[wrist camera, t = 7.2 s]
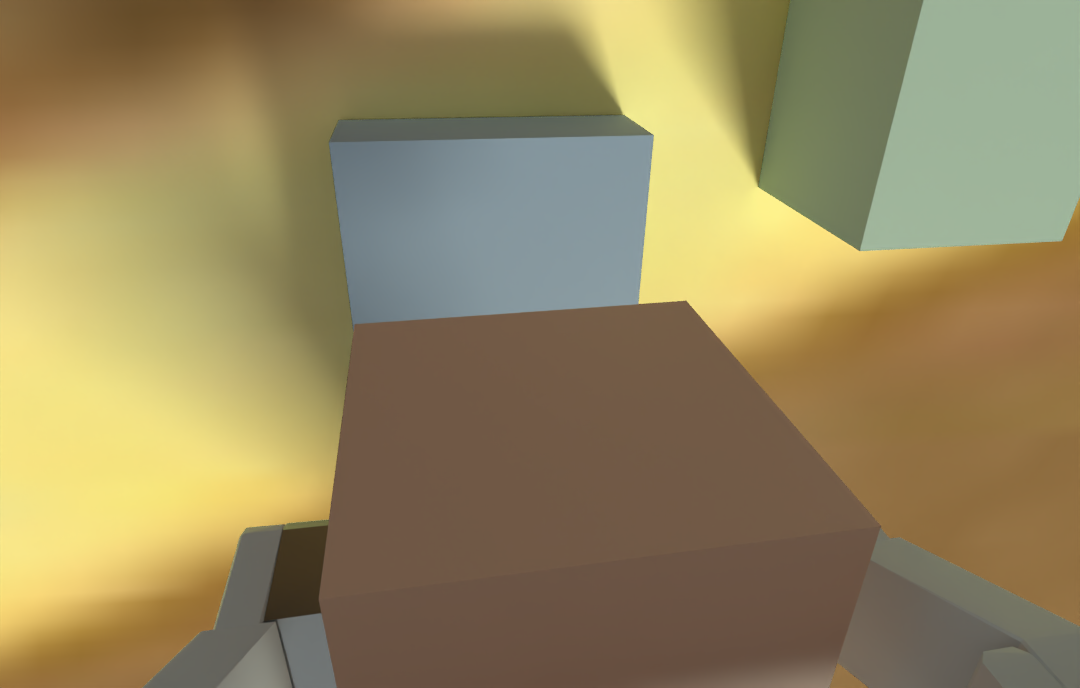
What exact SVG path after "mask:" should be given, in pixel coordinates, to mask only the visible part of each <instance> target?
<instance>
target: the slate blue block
mask: <svg viewBox="0 0 1080 688" xmlns="http://www.w3.org/2000/svg"><path fill="white" fill-rule="evenodd" d="M653 137H654V135H653V134H651V133H650V132H648V131H647V130H645V129H644V128H642V127H641V126H639V125H638V124H637V123H635V122H634V121H632V120H631V119H629V118H628V117H626V116H625V115H597V116H540V117H482V118H425V119H367V120H338V123H337V125H336V127H335V130H334V132H333V134H332V136H331V139H330V141H329V147H330V155H331V163H332V170H333V178H334V186H335V193H336V201H337V209H338V216H339V224H340V232H341V239H342V247H343V255H344V262H345V270H346V278H347V286H348V293H349V301H350V309H351V316H352V324H353V332H354V325H355V324H364V323H378V322H392V321H406V320H421V319H435V318H449V317H463V316H478V315H492V314H506V313H520V312H535V311H549V310H563V309H577V308H592V307H606V306H620V305H634V304H638V301H639V290H640V279H641V268H642V257H643V246H644V235H645V224H646V213H647V202H648V192H649V181H650V170H651V159H652V148H653Z"/></svg>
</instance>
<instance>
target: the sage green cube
mask: <svg viewBox="0 0 1080 688" xmlns="http://www.w3.org/2000/svg"><path fill="white" fill-rule="evenodd" d="M758 187H759V188H760V189H762V190H764V191H765V192H767V193H768V194H770V195H772V196H773V197H775V198H776V199H778V200H779V201H781V202H783V203H784V204H786V205H787V206H789V207H791V208H792V209H794V210H795V211H797V212H799V213H800V214H802V215H803V216H805V217H807V218H808V219H810V220H811V221H813V222H814V223H816V224H818V225H819V226H821V227H822V228H824V229H826V230H827V231H829V232H830V233H832V234H834V235H835V236H837V237H838V238H840V239H842V240H843V241H845V242H846V243H848V244H849V245H851V246H853V247H854V248H856V249H857V250H859V251H870V250H890V249H910V248H930V247H951V246H971V245H991V244H1011V243H1031V242H1051V241H1062V240H1063V237H1064V235H1065V232H1066V230H1067V227H1068V225H1069V222H1070V220H1071V217H1072V215H1073V212H1074V210H1075V207H1076V205H1077V202H1078V200H1079V197H1080V0H790V4H789V10H788V16H787V22H786V27H785V33H784V39H783V45H782V51H781V57H780V63H779V68H778V74H777V80H776V86H775V92H774V98H773V104H772V109H771V115H770V121H769V127H768V133H767V139H766V145H765V150H764V156H763V162H762V168H761V174H760V180H759V186H758Z"/></svg>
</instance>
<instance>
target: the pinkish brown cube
mask: <svg viewBox="0 0 1080 688" xmlns="http://www.w3.org/2000/svg"><path fill="white" fill-rule="evenodd" d="M880 528H881V525H880V524H879V523H878V522H877V521H876V520H875V518H874V517H873V516H872V515H871V514H870V513H869V512H868V510H867V509H866V508H865V507H864V506H863V505H862V503H861V502H860V501H859V500H858V499H857V498H856V497H855V495H854V494H853V493H852V492H851V491H850V490H849V488H848V487H847V486H846V485H845V484H844V483H843V481H842V480H841V479H840V478H839V477H838V476H837V475H836V473H835V472H834V471H833V470H832V469H831V468H830V466H829V465H828V464H827V463H826V462H825V461H824V460H823V458H822V457H821V456H820V455H819V454H818V453H817V451H816V450H815V449H814V448H813V447H812V446H811V445H810V443H809V442H808V441H807V440H806V439H805V438H804V436H803V435H802V434H801V433H800V432H799V431H798V429H797V428H796V427H795V426H794V425H793V424H792V423H791V421H790V420H789V419H788V418H787V417H786V416H785V414H784V413H783V412H782V411H781V410H780V409H779V408H778V406H777V405H776V404H775V403H774V402H773V401H772V399H771V398H770V397H769V396H768V395H767V394H766V393H765V391H764V390H763V389H762V388H761V387H760V386H759V384H758V383H757V382H756V381H755V380H754V379H753V377H752V376H751V375H750V374H749V373H748V372H747V371H746V369H745V368H744V367H743V366H742V365H741V364H740V362H739V361H738V360H737V359H736V358H735V357H734V356H733V354H732V353H731V352H730V351H729V350H728V349H727V347H726V346H725V345H724V344H723V343H722V342H721V340H720V339H719V338H718V337H717V336H716V335H715V334H714V332H713V331H712V330H711V329H710V328H709V327H708V325H707V324H706V323H705V322H704V321H703V320H702V319H701V317H700V316H699V315H698V314H697V313H696V312H695V310H694V309H693V308H692V307H691V306H690V305H689V304H688V302H687V301H677V302H663V303H649V304H634V305H620V306H606V307H592V308H577V309H563V310H549V311H535V312H520V313H506V314H492V315H478V316H463V317H449V318H435V319H421V320H406V321H392V322H378V323H364V324H355V325H354V333H353V341H352V348H351V356H350V364H349V371H348V379H347V386H346V394H345V402H344V409H343V417H342V425H341V432H340V440H339V447H338V455H337V463H336V470H335V478H334V486H333V493H332V501H331V508H330V516H329V524H328V531H327V539H326V547H325V554H324V562H323V570H322V577H321V585H320V592H319V604H320V609H321V614H322V619H323V623H324V628H325V633H326V638H327V643H328V648H329V652H330V657H331V662H332V667H333V672H334V677H335V682H336V686H337V688H829V687H830V683H831V680H832V677H833V674H834V671H835V668H836V665H837V662H838V659H839V656H840V652H841V649H842V646H843V643H844V640H845V637H846V634H847V631H848V628H849V624H850V621H851V618H852V615H853V612H854V609H855V606H856V603H857V600H858V596H859V593H860V590H861V587H862V584H863V581H864V578H865V575H866V572H867V568H868V565H869V562H870V559H871V556H872V553H873V550H874V547H875V544H876V540H877V537H878V534H879V531H880Z"/></svg>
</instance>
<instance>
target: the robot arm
mask: <svg viewBox="0 0 1080 688" xmlns="http://www.w3.org/2000/svg"><path fill="white" fill-rule="evenodd" d="M328 524H329V520H318V521H307V522H296V523H287V524H286V525H271V526H260V527H249V528H246V529H245V531H244V532H243V533H242V535H241V536H240V538H239V541H238V545H237V548H236V552H235V555H234V559H233V562H232V566H231V569H230V573H229V576H228V580H227V583H226V587H225V590H224V594H223V597H222V601H221V604H220V608H219V611H218V615H217V618H216V622H215V625H214V629H213V630H208V631H202V632H200V633H199V634H198V635H196V636H195V637H194V638H193V639H192V640H191V641H190V642H189V643H188V644H187V645H186V646H185V647H184V648H183V649H182V650H181V651H180V652H179V653H178V654H177V655H176V656H175V657H174V658H173V659H172V660H171V661H170V662H169V663H167V664H166V665H165V666H164V667H163V668H162V669H161V670H160V671H159V672H158V673H157V674H156V675H155V676H154V677H153V678H152V679H151V680H150V681H149V682H148V683H147V684H146V685H145V686H144V687H143V688H337V686H336V682H335V677H334V672H333V667H332V662H331V657H330V652H329V648H328V643H327V638H326V633H325V628H324V623H323V619H322V614H321V609H320V604H319V592H320V585H321V577H322V570H323V562H324V554H325V547H326V539H327V531H328ZM837 663H839V664H840V665H841V666H842V667H844V668H845V669H846V670H847V671H849V672H850V673H851V674H852V675H854V676H855V677H856V678H858V679H859V680H860V681H861V682H863V683H864V684H865V685H866V686H868V687H869V688H1080V626H1078V625H1075V624H1073V623H1071V622H1069V621H1067V620H1065V619H1063V618H1061V617H1059V616H1057V615H1055V614H1053V613H1051V612H1049V611H1047V610H1045V609H1043V608H1041V607H1039V606H1037V605H1035V604H1033V603H1031V602H1029V601H1027V600H1025V599H1023V598H1021V597H1019V596H1017V595H1015V594H1013V593H1011V592H1009V591H1007V590H1005V589H1003V588H1001V587H999V586H997V585H995V584H993V583H991V582H989V581H987V580H985V579H983V578H981V577H979V576H976V575H974V574H972V573H970V572H968V571H966V570H964V569H962V568H960V567H958V566H956V565H954V564H952V563H950V562H948V561H946V560H944V559H942V558H940V557H938V556H936V555H934V554H932V553H930V552H928V551H926V550H924V549H922V548H920V547H918V546H916V545H914V544H912V543H910V542H908V541H906V540H904V539H902V538H900V537H899V538H891V539H890V538H889V537H888V536H887V535H886V534H885V533H884V531H883V530H882V529H881V528H880V531H879V534H878V537H877V540H876V544H875V547H874V550H873V553H872V556H871V559H870V562H869V565H868V568H867V572H866V575H865V578H864V581H863V584H862V587H861V590H860V593H859V596H858V600H857V603H856V606H855V609H854V612H853V615H852V618H851V621H850V624H849V628H848V631H847V634H846V637H845V640H844V643H843V646H842V649H841V652H840V656H839V659H838V662H837Z"/></svg>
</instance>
